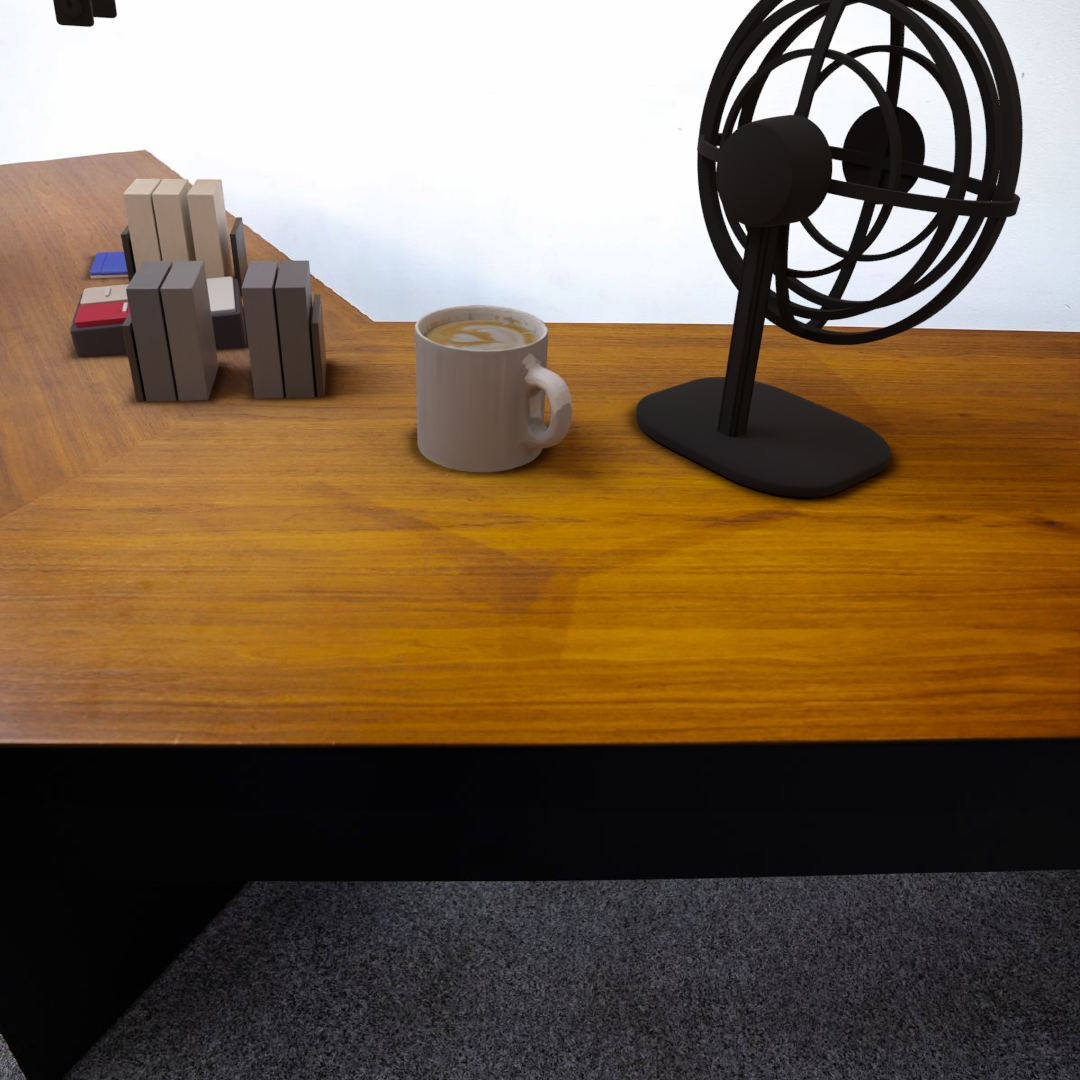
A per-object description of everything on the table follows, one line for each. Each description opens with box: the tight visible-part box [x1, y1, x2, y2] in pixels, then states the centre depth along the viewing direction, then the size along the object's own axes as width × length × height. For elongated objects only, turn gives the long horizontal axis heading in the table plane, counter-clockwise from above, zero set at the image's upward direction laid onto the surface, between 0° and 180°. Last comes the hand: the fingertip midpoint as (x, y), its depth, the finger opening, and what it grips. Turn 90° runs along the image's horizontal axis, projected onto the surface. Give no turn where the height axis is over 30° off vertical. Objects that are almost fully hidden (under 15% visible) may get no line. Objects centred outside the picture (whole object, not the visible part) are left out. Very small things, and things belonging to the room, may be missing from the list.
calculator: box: [69, 277, 248, 358], centre depth 95 cm, size 11×4×15 cm
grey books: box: [122, 260, 327, 403], centre depth 84 cm, size 15×8×10 cm, turn 99°
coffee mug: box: [414, 304, 573, 473], centre depth 75 cm, size 13×10×10 cm
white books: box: [120, 178, 249, 297], centre depth 105 cm, size 11×7×11 cm, turn 99°
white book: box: [187, 178, 235, 279], centre depth 105 cm, size 3×7×11 cm, turn 9°
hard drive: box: [89, 251, 128, 279], centre depth 113 cm, size 2×8×12 cm
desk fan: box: [635, 0, 1024, 498], centre depth 72 cm, size 27×18×35 cm, turn 40°
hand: (88, 21), depth 95 cm, fingers open, 9 cm apart
